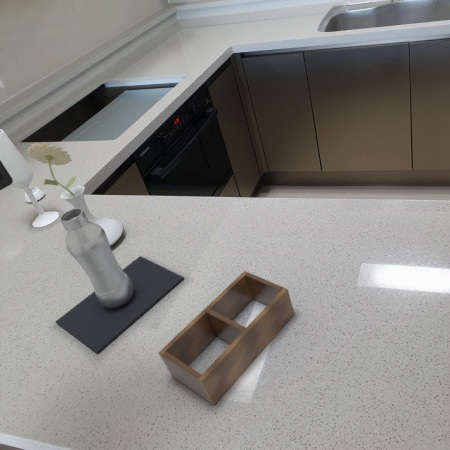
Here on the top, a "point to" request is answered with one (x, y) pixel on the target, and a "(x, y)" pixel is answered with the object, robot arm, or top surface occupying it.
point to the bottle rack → (228, 335)
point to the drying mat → (124, 315)
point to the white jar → (36, 192)
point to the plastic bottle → (96, 259)
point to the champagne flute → (22, 177)
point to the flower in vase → (73, 188)
